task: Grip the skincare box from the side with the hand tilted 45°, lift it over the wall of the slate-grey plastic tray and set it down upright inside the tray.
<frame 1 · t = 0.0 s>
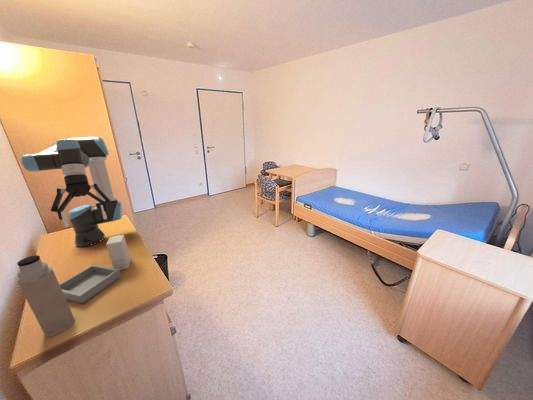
hand: (86, 222, 93), 28 cm above the table, tool tilted 20°, fingers open, 13 cm apart
skincare box: (123, 265, 110), on the table
thermos bottle: (60, 326, 76), on the table
tray: (90, 286, 95), on the table
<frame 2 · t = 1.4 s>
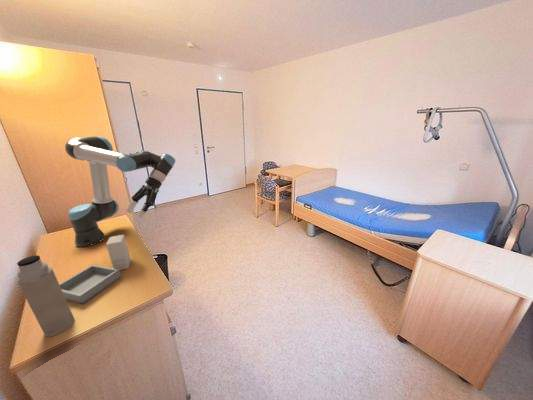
hand: (133, 214, 109), 25 cm above the table, tool tilted 45°, fingers open, 13 cm apart
nothing on the table moved.
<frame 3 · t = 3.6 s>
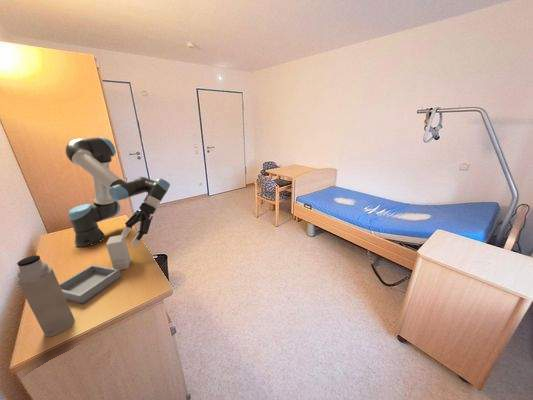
hand: (127, 242, 108), 12 cm above the table, tool tilted 45°, fingers open, 13 cm apart
nothing on the table moved.
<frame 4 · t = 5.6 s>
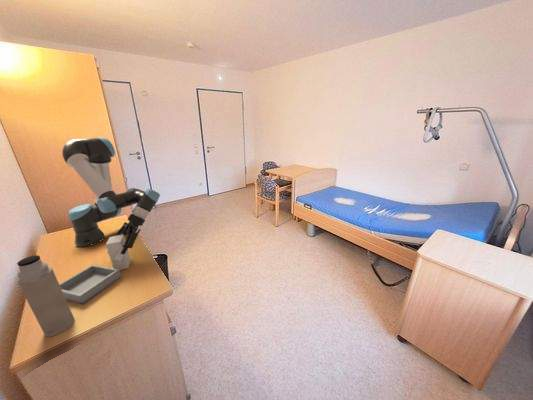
hand: (113, 256, 105), 7 cm above the table, tool tilted 45°, fingers closed on skincare box, 10 cm apart
skincare box: (123, 265, 110), on the table, touching gripper
everything else where it was.
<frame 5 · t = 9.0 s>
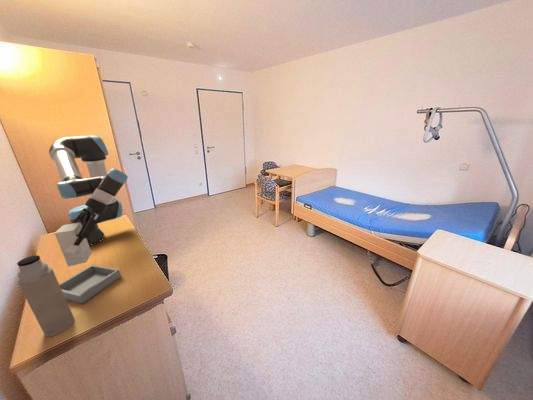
hand: (65, 248, 87), 21 cm above the table, tool tilted 45°, fingers closed on skincare box, 10 cm apart
skincare box: (81, 260, 91), point 14 cm above the table, touching gripper
everything else where it was.
when the fingers open (9 cm above the table, at t = 12.3 s): skincare box drops 2 cm, resting on tray.
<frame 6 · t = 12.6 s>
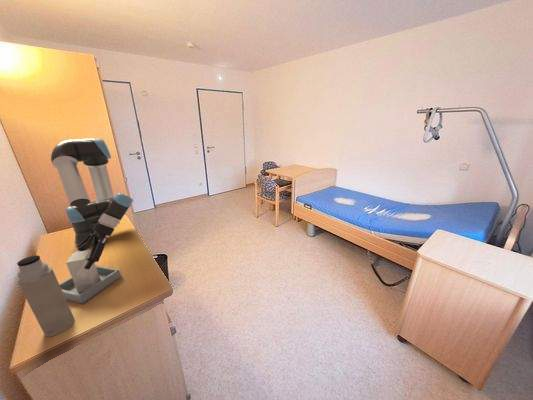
hand: (75, 270, 90), 10 cm above the table, tool tilted 45°, fingers open, 13 cm apart
skincare box: (90, 285, 95), point 1 cm above the table, touching tray
everything else where it was.
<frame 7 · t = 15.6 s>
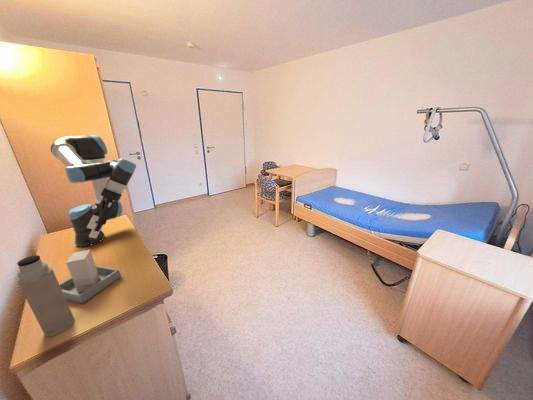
hand: (91, 232, 97), 22 cm above the table, tool tilted 35°, fingers open, 13 cm apart
nothing on the table moved.
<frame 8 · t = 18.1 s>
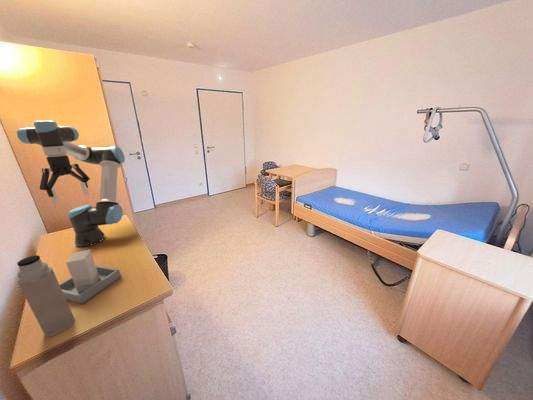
hand: (72, 198, 107), 35 cm above the table, tool pointing down, fingers open, 13 cm apart
nothing on the table moved.
at the end: skincare box inside the target area on the tray (0.4 cm from its centre), point 0.6 cm above the tray's base; skincare box tilted 0°; the gripper is holding nothing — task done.
